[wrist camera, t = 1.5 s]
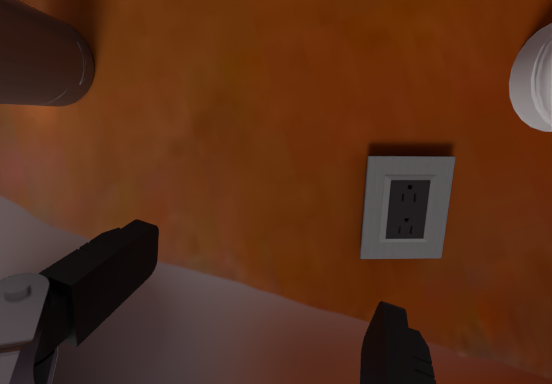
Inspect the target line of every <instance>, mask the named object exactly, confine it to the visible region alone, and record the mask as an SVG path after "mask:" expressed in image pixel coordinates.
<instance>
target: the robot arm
mask: <svg viewBox="0 0 552 384" xmlns="http://www.w3.org/2000/svg"><path fill="white" fill-rule="evenodd" d="M93 76H94V63H93V57H92V54H91V52H90V49H89V47H88V45H87V43H86V42H85V40H84V39H83V38H82V36H81V35H80V34H79V33H78V32H77V31H76V30H75V29H73V28H72V27H71V26H70V25H68V24H66V23H64V22H62V21H60V20H58V19H56V18H54V17H52V16H50V15H47V14H45V13H43V12H41V11H39V10H37V9H35V8H33V7H31V6H29V5H27V4H25V3H22V2H20V1H18V0H0V104H17V105H36V106H66V105H69V104H72V103H75V102H76V101H78V100H79V99H81V98H82V97H83V96H84V95H85V94H86V93H87V91H88V89H89V88H90V86H91V84H92V80H93ZM158 236H159V229H158V227H157V226H156V225H153V224H150V223H147V222H144V221H141V220H138V219H137V220H134V221H132V222H131V223H129V224H128V225H126V226H125V227H123V228H122V229H120V228H116V229H113V230H110V231H107V232H104V233H102V234H100V235H99V236H97V237H95V238H94V239H92V240H91V241H90V242H89V243H86V244H84V245H83V246H81V247H80V249H79V250H78V249H76V250H75V251H73V252H72V253H70V254H69V255H67V256H65V257H64V258H62V259H61V260H59V261H57V262H56V263H54V264H53V265H51V266H50V267H48V268H46V269H45V270H43V271H42V272H40V273H39V274H36V273H21V274H15V275H12V276H8V277H6V278H3V279H1V280H0V384H51V383H52V379H53V374H54V370H55V365H56V361H57V356H58V349H57V346H58V345H60V343H62V342H63V341H65V342H66V343H69V344H71V345H74V346H76V347H78V346H79V345H80V344H81V343H82V342H83V341H84V340H85V339H86V338H87V337H88V336H89V335H90V334H91V333H92V332H93V331H94V330H95V329H96V328H97V327H98V326H99V325H100V324H101V323H102V322H103V321H104V320H105V319H106V318H108V317H109V316H110V315H111V314H112V313H113V312H114V311H115V310H116V309H117V308H118V307H119V306H120V305H121V304H122V303H123V302H124V301H125V300H126V299H127V298H128V297H129V296H130V295H131V294H132V293H133V292H134V291H135V290H136V289H138V288H139V287H140V286H141V285H142V284H143V283H144V282H145V281H146V280H147V279H148V278H149V277H150V275H151V274H152V273H153V271H154V269H155V267H156V264H157V256H158ZM431 365H432V361H431V356H430V351H429V347H428V346H427V344H426V342H425V340H424V339H423V337H422V335H421V334H420V332H419V331H417V330H414V329H411V328H408V321H407V314H406V310H405V309H404V308H401V307H398V306H395V305H392V304H389V303H386V302H383V301H381V302H380V303H379V304H378V306H377V309H376V311H375V313H374V315H373V318H372V320H371V322H370V325H369V327H368V329H367V331H366V334H365V336H364V340H363V344H362V349H361V369H360V384H436V380H434V377H435V376H434V371H433V366H431Z"/></svg>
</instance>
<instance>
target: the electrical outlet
mask: <svg viewBox="0 0 552 384" xmlns="http://www.w3.org/2000/svg"><path fill="white" fill-rule="evenodd" d="M454 164H455V156H368V161H367V174H366V187H365V200H364V213H363V226H362V239H361V251H360V259H401V258H441V257H442V250H443V243H444V235H445V228H446V221H447V214H448V207H449V200H450V193H451V186H452V178H453V171H454Z"/></svg>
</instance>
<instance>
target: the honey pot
mask: <svg viewBox="0 0 552 384" xmlns="http://www.w3.org/2000/svg"><path fill="white" fill-rule="evenodd" d="M509 89H510V99H511V102H512V105H513V108H514V110H515V111H516V113H517V114H518V116H519V117H520V119H521V120H522V121H524V122H525V123H526V124H528V125H529V126H530V127H532V128H535V129H538V130H541V131H550V132H552V23H551V24H549V25H547V26H545V27H543V28H541V29H540V30H539V31H537V32H536V33H535V34H534V35H533V36H532V37H531V38H530V39H528V41H527V42H526V43H525V45H524V46H523V47H522V49H521V50H520V51H519V53H518V55H517V57H516V60H515V62H514V64H513V66H512V70H511V75H510V81H509Z"/></svg>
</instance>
